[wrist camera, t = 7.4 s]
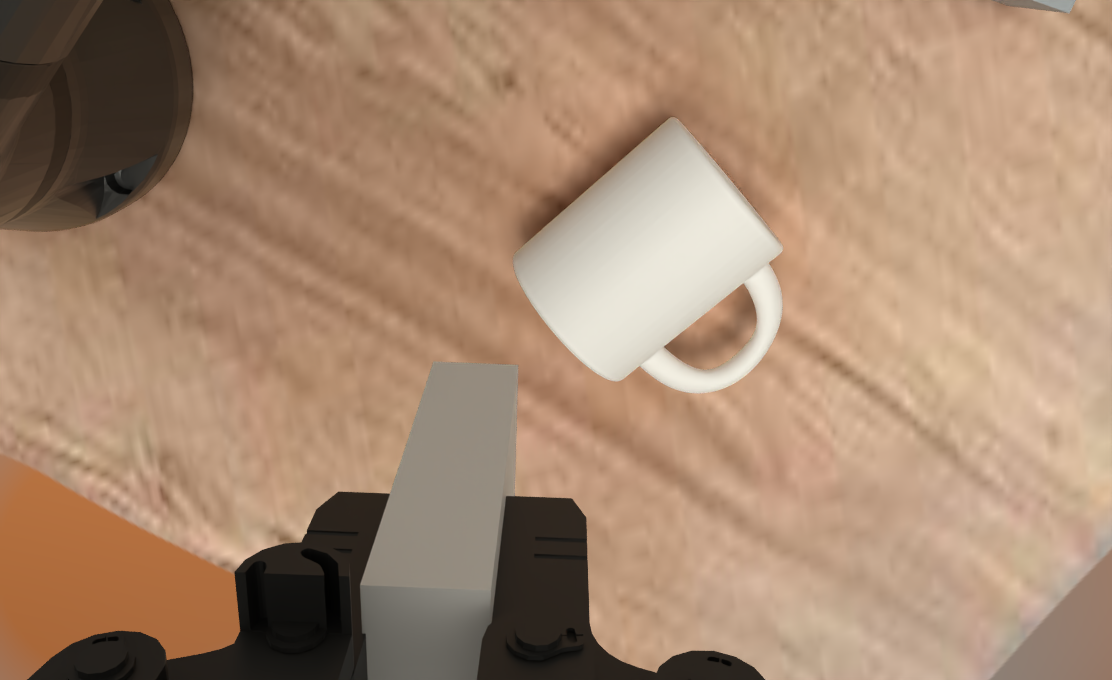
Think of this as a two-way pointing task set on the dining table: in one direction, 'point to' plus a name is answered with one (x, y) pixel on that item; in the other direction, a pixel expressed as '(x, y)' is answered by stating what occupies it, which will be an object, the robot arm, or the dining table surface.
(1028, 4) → the slate block
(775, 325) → the mug
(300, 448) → the dining table surface
